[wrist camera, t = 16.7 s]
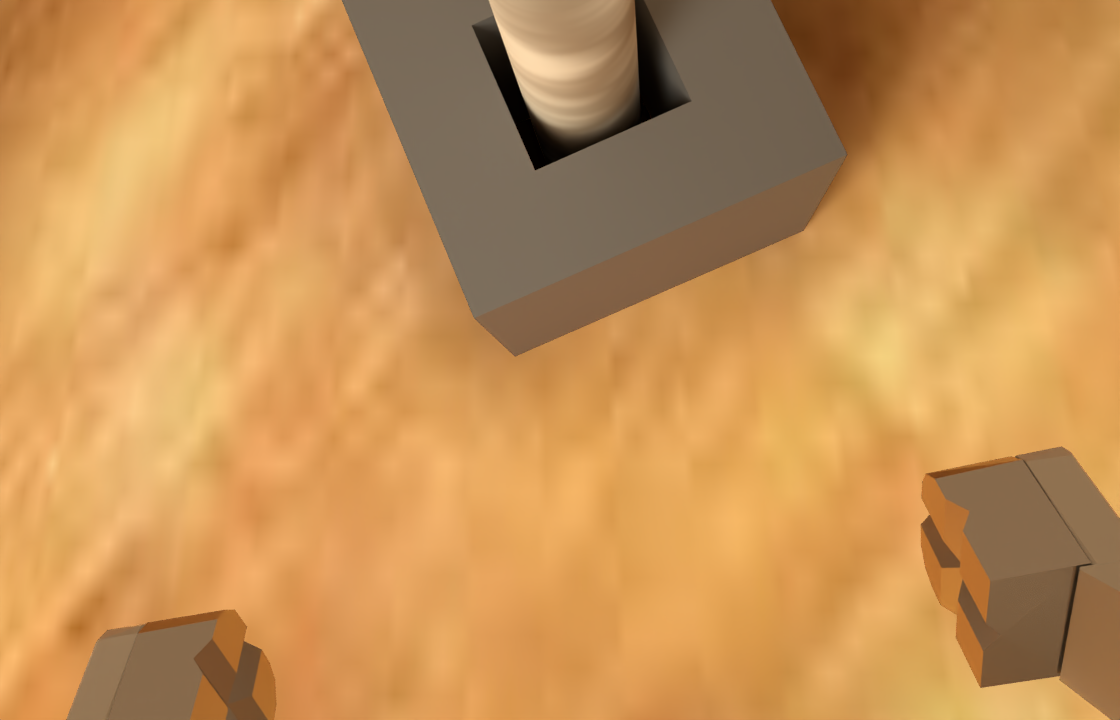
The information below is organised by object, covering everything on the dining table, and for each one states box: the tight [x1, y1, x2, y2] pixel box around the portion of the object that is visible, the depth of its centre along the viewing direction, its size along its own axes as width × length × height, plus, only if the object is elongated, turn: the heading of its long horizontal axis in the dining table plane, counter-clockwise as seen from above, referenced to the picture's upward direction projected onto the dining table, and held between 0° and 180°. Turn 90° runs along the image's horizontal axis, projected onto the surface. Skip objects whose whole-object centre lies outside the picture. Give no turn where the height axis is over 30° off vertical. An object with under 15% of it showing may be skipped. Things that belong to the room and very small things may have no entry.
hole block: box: [342, 0, 847, 356], centre depth 40 cm, size 14×14×10 cm
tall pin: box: [489, 0, 641, 165], centre depth 36 cm, size 4×4×18 cm
